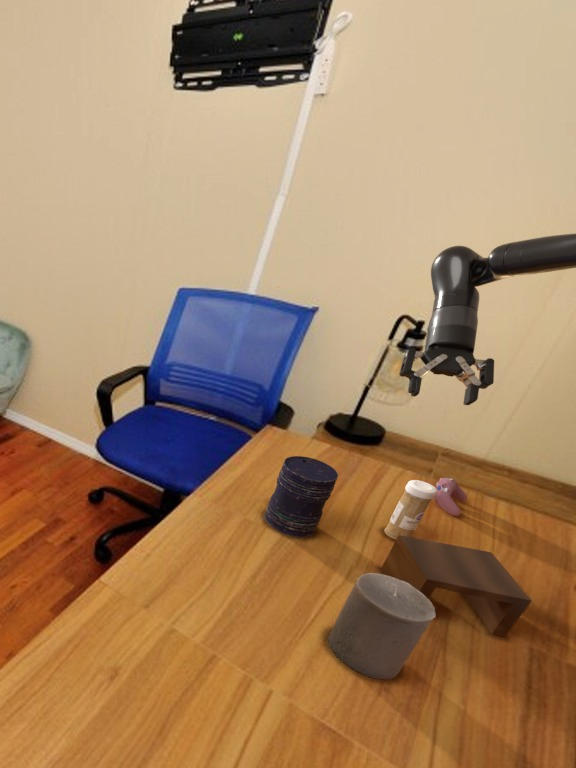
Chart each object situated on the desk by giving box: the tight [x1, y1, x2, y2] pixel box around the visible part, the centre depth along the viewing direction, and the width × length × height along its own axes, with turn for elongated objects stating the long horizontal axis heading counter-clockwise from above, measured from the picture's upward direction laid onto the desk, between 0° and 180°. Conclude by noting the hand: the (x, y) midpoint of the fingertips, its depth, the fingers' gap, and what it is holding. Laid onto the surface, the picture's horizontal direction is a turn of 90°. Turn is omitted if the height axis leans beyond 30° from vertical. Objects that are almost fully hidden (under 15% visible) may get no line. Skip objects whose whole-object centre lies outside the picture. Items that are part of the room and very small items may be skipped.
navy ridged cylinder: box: [264, 455, 339, 538], centre depth 111 cm, size 10×10×15 cm
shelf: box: [380, 535, 533, 638], centre depth 92 cm, size 14×12×9 cm
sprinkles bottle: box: [384, 479, 437, 541], centre depth 107 cm, size 5×5×13 cm
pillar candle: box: [327, 572, 437, 680], centre depth 82 cm, size 10×10×15 cm
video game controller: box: [433, 477, 468, 517], centre depth 119 cm, size 10×5×7 cm, turn 130°
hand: (441, 399), depth 106 cm, fingers open, 8 cm apart
